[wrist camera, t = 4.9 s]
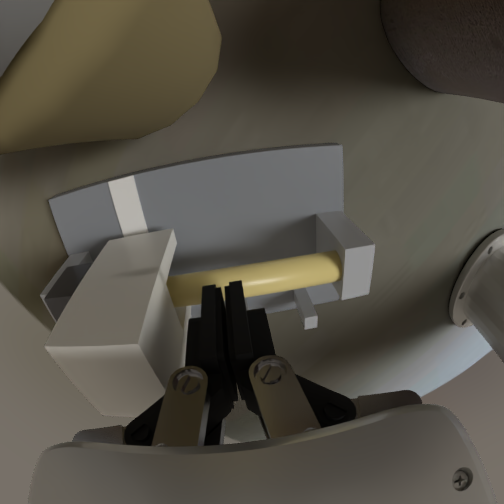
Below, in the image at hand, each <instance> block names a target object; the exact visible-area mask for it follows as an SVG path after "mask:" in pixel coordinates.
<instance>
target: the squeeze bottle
mask: <svg viewBox="0 0 504 504" xmlns="http://www.w3.org/2000/svg"><path fill="white" fill-rule="evenodd" d="M221 40H222V36H221V33H220V30H219V27H218V25H217V22H216V19H215V16H214V13H213V10H212V7H211V5H210V3H209V0H0V155H1V154H6V153H12V152H18V151H23V150H29V149H35V148H41V147H48V146H55V145H63V144H71V143H81V142H92V141H105V140H122V139H139V138H141V137H143V136H146V135H148V134H150V133H153V132H155V131H158V130H160V129H163V128H165V127H168V126H171V125H172V124H173V123H174V122H175V121H176V120H177V119H179V118H180V117H181V116H182V115H183V114H184V113H185V112H187V111H188V110H189V109H190V108H191V107H193V106H194V105H195V104H196V103H197V102H199V100H200V98H201V97H202V95H203V93H204V91H205V90H206V88H207V86H208V85H209V83H210V81H211V80H212V78H213V76H214V75H215V73H216V71H217V68H218V61H219V54H220V47H221Z"/></svg>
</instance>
